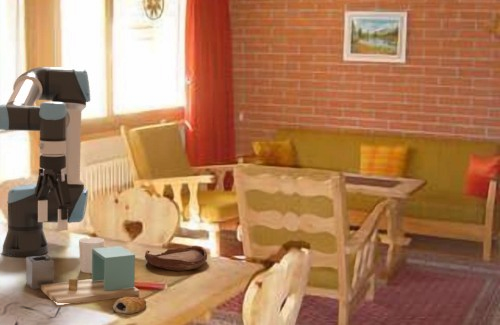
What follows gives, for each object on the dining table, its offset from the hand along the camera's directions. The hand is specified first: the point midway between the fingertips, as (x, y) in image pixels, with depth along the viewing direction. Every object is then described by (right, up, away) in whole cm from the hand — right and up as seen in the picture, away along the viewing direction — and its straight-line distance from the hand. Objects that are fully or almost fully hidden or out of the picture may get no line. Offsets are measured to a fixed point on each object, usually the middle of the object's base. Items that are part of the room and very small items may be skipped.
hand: (52, 226), depth 226 cm
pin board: (+12, -19, -4) cm, 23 cm away
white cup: (+8, -16, +19) cm, 26 cm away
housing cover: (+18, -17, 0) cm, 25 cm away
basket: (+34, -16, +32) cm, 49 cm away
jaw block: (-4, -18, +2) cm, 18 cm away
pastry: (+26, -22, -17) cm, 38 cm away
